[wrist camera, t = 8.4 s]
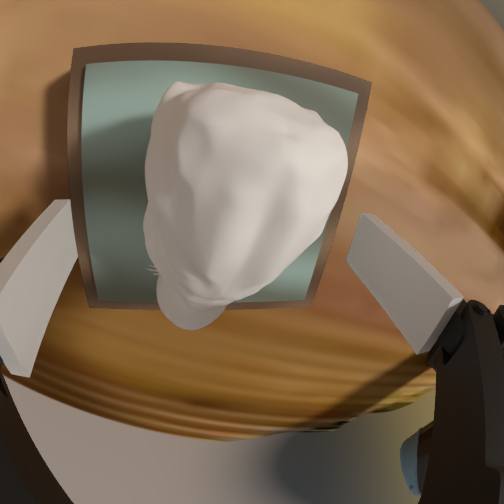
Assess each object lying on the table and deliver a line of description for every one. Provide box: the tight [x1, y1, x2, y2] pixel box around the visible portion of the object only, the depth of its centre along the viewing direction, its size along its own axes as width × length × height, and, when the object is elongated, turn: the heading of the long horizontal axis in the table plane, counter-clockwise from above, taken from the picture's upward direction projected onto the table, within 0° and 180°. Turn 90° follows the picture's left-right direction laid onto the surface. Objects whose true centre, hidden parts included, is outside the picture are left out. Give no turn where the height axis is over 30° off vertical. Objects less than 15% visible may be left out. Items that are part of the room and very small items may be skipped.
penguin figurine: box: [143, 81, 348, 330], centre depth 12 cm, size 6×8×12 cm
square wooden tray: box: [67, 43, 372, 310], centre depth 17 cm, size 16×16×4 cm
